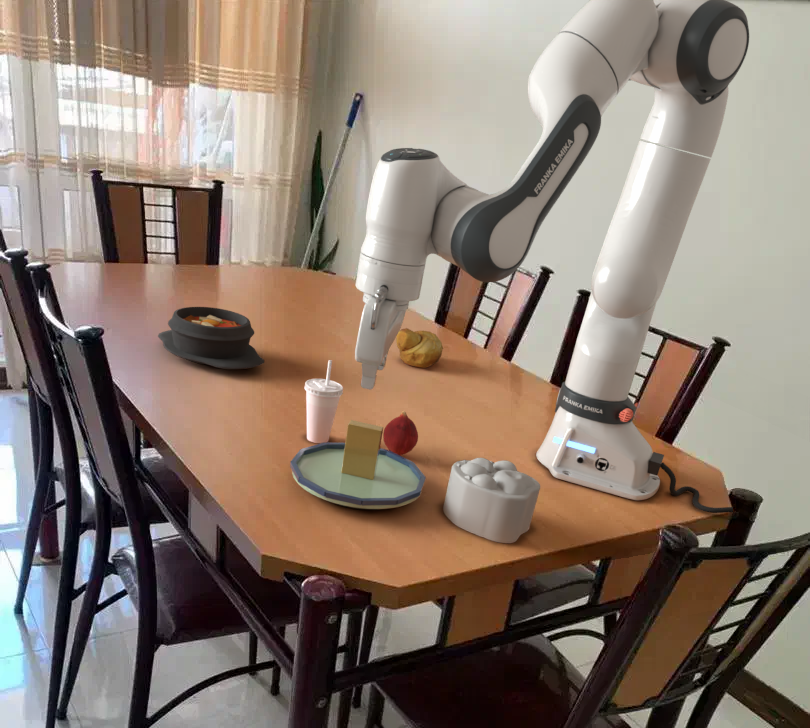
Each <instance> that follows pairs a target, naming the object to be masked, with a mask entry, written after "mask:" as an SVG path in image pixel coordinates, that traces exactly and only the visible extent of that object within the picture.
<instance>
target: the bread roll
mask: <svg viewBox="0 0 810 728" xmlns="http://www.w3.org/2000/svg"><path fill="white" fill-rule="evenodd" d="M395 341H396V342H395V343H396V346H397V349H398V350H399V358H400V360H401V361H402V362H403V363H404V364H406V365H409V366H411V367H415V368H416V367H417V368H428V367H432V365H436V363H438V362H439V361H440V359H441V358H442V356H443V355H442V354H443V350H444V347H443V343H442V341H441V339H440V338H439V337H438V336H437V334H436V333H434V332H431V331H430V330H429V331H427V330H415V331H413V330H412V329H409V328H407V327H405V328H400V331H399V332H398V334H397V336H396V338H395Z"/></svg>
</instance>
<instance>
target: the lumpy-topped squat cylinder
mask: <svg viewBox="0 0 810 728" xmlns="http://www.w3.org/2000/svg"><path fill="white" fill-rule="evenodd" d="M540 491H541V484H540V482H539V481H538V480H537V479H535V478H534V477H532V476H530V475H528V474H526V473H524V472H521V471H519V470H518V468H517V466H516V465H515V464H514V463H513V462H512V461H510V460H507V459H506V460H498V461H495V462H494V461H492V460H489V459H487V458H485V457H476V458H473V459H470V460H469V459H467V460H466V459H463V460H458V461H456V462H454V463H453V464H452V466H451V469H450V474H449V479H448V484H447V488H446V493H445V496H444V502H443V507H442V510H443V513H444V515H445V517H446V518H447V519H448V520H449V521H450V522H451V523H452V524H454V525H455V526H456V527H458V528H460V529H462V530H464V531H467V532H468V533H471V534H473V535H475V536H477V537H480V538H483V539H486V540H489V541H492V542H495V543H501V544H514V543H515V542H517V541H518V540H519V538H520V537H521V535H523V534H525V533H527V532H528V531H529V530H530V526H531V523H532V520H533V517H534V512H535V509H536V505H537V501H538V498H539V495H540Z"/></svg>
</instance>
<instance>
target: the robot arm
mask: <svg viewBox="0 0 810 728" xmlns="http://www.w3.org/2000/svg"><path fill="white" fill-rule="evenodd" d="M749 45H750V29H749V20H748V17H747V15H746V13H745V11H744V10H743V9H742V8H741V7H740V6H738V5H736V4H735V3H732V2H730V1H728V0H588V1H587V2H586V3H585V4H583V6H582V7H581V8H580V9H579V10H578V11H576V12H575V14H573V16H572V17H571V18H570V19H569V20H568V21H567V22H566V23H565V24H564V26H563V27H562V28H561V29H560V30H559V32H557V34H556V35H555V36H554V37H553V39H552V40H551V41H550V42H549V43H548V45H546V47H545V48H544V50H542V52H541V54H539V57H538V58H537V59H536V61H535V63H534V65H533V67H532V69H531V71H530V73H529V75H528V79H527V98H528V102H529V106H530V109H531V111H532V113H533V115H534V117H535V119H536V120H537V122H538V124H539V125H540V126H541V128H542V132H541V135H540V137H539V140H538V141H537V143H536V145H535V146H534V147H533V149H532V150H531V152H530V153H529V154H528V156H527V158H526V159H525V161H524V162H523V164H521V167H520V168H519V170H518V171H517V172H516V174H514V175H515V176H513V178H512V180H511V181H510V182H509V184H508V185H507V186H506V187H505V188H504V189H502V190H500V191H498V192H495V193H491V194H489V193H486V192H483V191H481V190H479V189H477V188H474V187H471V186H469V185H468V184H467V183H465V182H464V181H462V180H461V179H460V178H458V177H457V176H455V175H454V173H452V172H451V171H450V170H449V169H448V168H447V167H446V165H444V163H443V162H442V161H441V158H440V156H439V154H437V153H436V152H434V151H433V150H429V149H424V148H413V147H401V148H393V149H390V150H389V151H386V152H385V153H383V154H382V155H381V156H380V158H379V160H378V162H377V164H376V166H375V169H374V173H373V174H372V175H373V176H372V180H371V184H370V189H369V194H368V199H367V205H366V211H365V225H366V229H365V230H366V232H365V237H364V240H363V242H362V245H361V247H360V251H359V252H360V253H359V256H358V257H359V258H358V263H357V265H358V266H357V272H356V278H355V288H356V289H357V290H358V291H360V292H362V293H363V296H362V302H363V303H364V305H363V309H362V312H361V317H360V322H359V326H358V332H357V337H356V343H355V349H354V360H355V361H356V362H358V363H361V381H360V382H361V383H360V386H361V388H362V389H364V390H365V389H366V390H370V391H372V390H374V388H375V386H376V381H377V376H378V375H377V372H378V371H383V370H384V369H385V367H386V363H387V357H388V355H389V352H390V349H391V348H392V345H393V343H394V341H396V338H397V334H398V332H399V331H400V330H401V329H402V325H403V322H404V319H405V315H406V312H407V310H408V309H409V305H410V304H409V303H410V302H415V301H417V300H419V298H420V297H421V296H420V295H421V290H422V285H423V280H424V274H425V269H426V263H427V259H428V256H429V255H432V254H433V255H436V256H438V257H440V258H442V259H443V260H445V261H446V262H448V263H451V264H452V265H454V266H456V267H458V268H459V269H461V270H462V271H464V272H465V273H466V274H468V275H469V276H470V277H472V278H473V279H474V280H476V281H479V282H481V283H496V282H499V281H502V280H505V279H506V278H508V277H509V276H511V275H512V274H513V273H515V272H516V271H517V270H518V269H519V268H520V267H521V265H522V264H523V262H524V261H525V259H526V258H527V256H528V254H529V252H530V249H531V248H532V245H533V243H534V240H535V238H536V237H537V234H538V232H539V230H540V228H541V226H542V224H543V222H544V220H545V219H546V218H547V216H548V215H549V213H550V212H551V210H552V209H553V207H554V206H555V204H556V203H557V201H558V199H559V198H560V197H561V195H562V194H563V192H564V190H565V189H566V188H567V186H568V185H569V183H570V182H571V180H572V179H573V177H574V176H575V175H576V173H577V171H578V170H579V168H580V167H581V166H582V164H583V163H584V161H585V159H586V158H587V156H588V155H589V153H590V152H591V149H592V148H593V146H594V144H595V142H596V140H597V138H598V136H599V133H600V130H601V127H602V117H603V115H604V113H605V112H606V110H607V109H608V107H609V106H610V105H611V103H612V102H613V101H614V100H615V99H616V97H617V96H618V95H619V94H620V93H621V92H622V90H623V89H624V87H625V86H626V85H627V83H628V82H629V81H632V82H635V83H637V84H640V85H643V86H646V87H649V88H653V91H654V99H653V101H654V102H653V104H652V107H651V109H650V111H649V114H648V116H647V118H646V121H645V123H644V127H643V129H642V132H641V134H640V137H639V139H640V140H638V142H637V146H636V148H635V151H634V154H633V158H632V160H631V163H630V167H629V169H628V172H627V175H626V178H625V182H624V185H623V187H622V191H621V193H620V196H619V199H618V202H617V205H616V207H615V210H614V212H613V216H612V218H611V221H610V224H609V226H608V229H607V232H606V235H605V237H604V240H603V242H602V243H603V244H602V246H601V249H600V252H599V255H598V258H597V260H596V264H595V266H594V269H593V272H592V275H591V281H590V288H591V291H590V295H589V298H588V302H587V305H586V308H585V311H584V315H583V318H582V322H581V324H580V328H579V331H578V334H577V338H576V341H575V345H574V347H573V352H572V356H571V359H570V364H569V367H568V370H567V374H566V378H565V381H563V382H562V383H561V387H560V388H559V391H558V394H557V399H556V402H555V408H554V413H555V414H554V416H553V419H552V421H551V424H550V427H549V428H548V431H547V433H546V435H545V437H544V440H543V441H542V443H541V444H540V446H539V447H538V449H537V451H536V453H535V457H536V459H537V460H538V461H539V463H541V465H543V466H544V467H545V468H547V469H548V470H549V472H550V474H551V475H552V476H553V477H554V478H555V479H559V480H562V481H566V482H568V483H573V484H576V485H579V486H583V487H587V488H590V489H594V490H597V491H599V492H604V493H607V494H611V495H615V496H619V497H622V498H625V499H629V500H632V501H644V500H647V499H650V498H652V497H653V496H655V494H656V493H657V492H658V491H659V488H660V484H661V479H660V477H659V475H658V474H659V472H660V469H661V470H662V471H664V472H665V473H666V474H667V475H668V477H669V480H670V481H669V490H668V491H669V493H670V495H672V496H673V497H677V496H678V497H679V496H680V495H682V494H683V493H686V492H689V493H691V494H693V497H692V500H691V501H692V504H693V506H694V507H695V508H696V509H698V510H699V511H702V512H705V513H710V514H722V513H724V514H725V513H734V512H733V507H734V506H723V507H713V506H712V507H711V506H707V505H704V504H702V503H700V502H699V499H700V492H699V490H698V489H696V488H694V487H692V486H687V485H684V486H681V487H679V488H678V489H677V490H676V484H677V477H676V475H675V473H674V472H673V470H671V469H672V468H670V467H668V465H666V463H665V462H663V460H664V457H665V454H662V453H660V452H656V451H653V448H652V446H651V445H650V443H649V442H648V441H647V440H646V438H645V436H643V434H642V433H641V431H640V430H639V429H638V427H637V426H636V425H635V423H634V422H633V421H634V418H635V415H636V411H637V409H638V407H639V406H638V405H639V403H638V402H635V403H634V402H633V401H632V400H631V398H630V397H629V394H630V390H631V388H632V384H633V382H634V378H635V375H636V372H637V370H638V369H637V368H638V365H639V362H640V359H641V355H642V354H643V349H644V345H645V342H646V338H647V335H648V332H649V329H650V325H651V322H652V318H653V316H654V311H655V308H656V305H657V302H658V300H659V299H660V297H661V295H662V293H663V290H664V287H665V284H666V283H667V279H668V277H669V275H670V274H669V273H670V271H671V268H672V266H673V263H674V261H675V256H676V254H677V252H678V249H679V246H680V243H681V240H682V238H683V235H684V232H685V230H686V226H687V224H688V220H689V218H690V215H691V212H692V210H693V207H694V205H695V202H696V199H697V196H698V194H699V191H700V188H701V186H702V184H703V182H704V181H703V180H704V178H705V176H706V173H707V170H708V168H709V165H710V162H711V158H713V154H714V152H715V148H716V146H717V143H718V140H719V136H720V133H721V130H722V125H723V121H724V117H725V113H726V109H727V103H728V97H729V85H730V84H731V82H732V81H733V80H734V79H735V77H736V76H737V75H738V72H739V71H740V69H741V67H742V65H743V64H744V61H745V59H746V56H747V54H748V49H749ZM750 523H756V521H755V519H754V521H753V522H752V521H751V522H750Z"/></svg>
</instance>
